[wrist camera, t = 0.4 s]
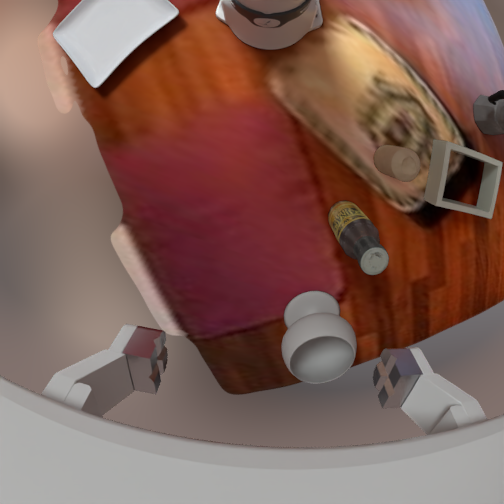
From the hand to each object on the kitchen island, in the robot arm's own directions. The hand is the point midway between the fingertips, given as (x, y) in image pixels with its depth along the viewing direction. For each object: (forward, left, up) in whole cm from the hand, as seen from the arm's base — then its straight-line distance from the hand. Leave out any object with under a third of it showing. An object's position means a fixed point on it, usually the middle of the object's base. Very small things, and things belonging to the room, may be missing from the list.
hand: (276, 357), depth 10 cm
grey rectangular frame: (-6, +40, -45) cm, 61 cm away
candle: (-6, +22, -46) cm, 51 cm away
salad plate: (-30, -32, -46) cm, 64 cm away
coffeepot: (-22, +45, -46) cm, 68 cm away
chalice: (+28, +13, -46) cm, 55 cm away
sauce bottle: (+6, +15, -46) cm, 48 cm away
